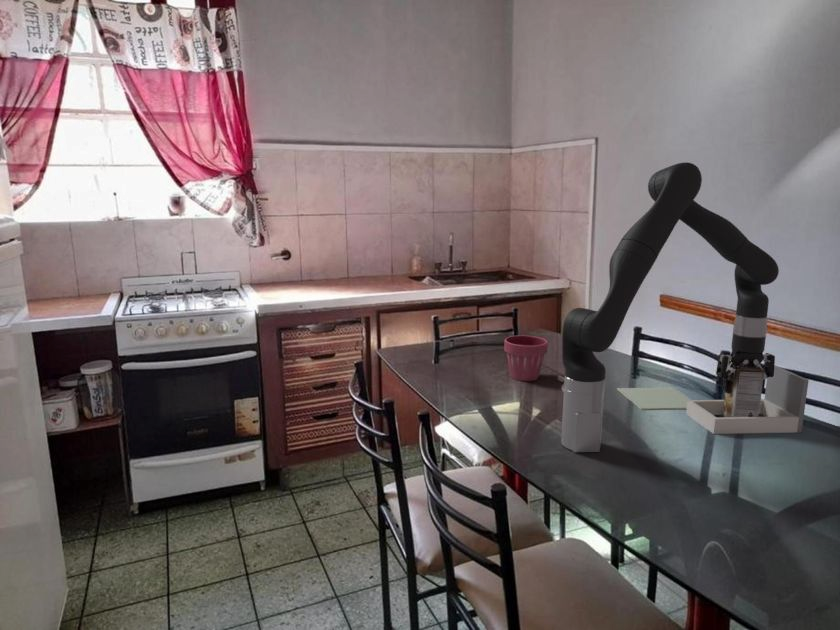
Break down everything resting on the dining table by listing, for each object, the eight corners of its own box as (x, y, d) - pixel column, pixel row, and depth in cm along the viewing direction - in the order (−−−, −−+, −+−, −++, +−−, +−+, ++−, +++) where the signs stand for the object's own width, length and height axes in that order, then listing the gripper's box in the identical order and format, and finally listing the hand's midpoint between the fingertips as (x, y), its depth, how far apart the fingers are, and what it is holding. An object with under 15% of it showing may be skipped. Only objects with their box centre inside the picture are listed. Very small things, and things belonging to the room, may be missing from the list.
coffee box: (721, 416, 162) (727, 359, 159) (746, 417, 161) (753, 361, 158) (731, 428, 153) (738, 369, 150) (758, 430, 152) (765, 370, 149)
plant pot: (543, 385, 188) (544, 346, 185) (499, 381, 192) (500, 343, 190) (548, 373, 201) (550, 336, 199) (507, 369, 205) (508, 333, 203)
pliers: (567, 390, 179) (548, 376, 194) (566, 395, 180) (548, 380, 194) (597, 388, 181) (576, 374, 196) (597, 393, 181) (576, 379, 196)
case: (801, 432, 151) (808, 379, 148) (713, 433, 150) (719, 381, 147) (766, 412, 165) (772, 364, 162) (686, 414, 163) (690, 365, 161)
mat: (703, 408, 168) (703, 407, 168) (641, 409, 167) (641, 408, 167) (672, 388, 185) (673, 387, 185) (616, 389, 184) (616, 388, 184)
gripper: (731, 336, 148) (724, 397, 152) (785, 335, 149) (778, 396, 152) (714, 329, 156) (708, 388, 159) (766, 329, 157) (759, 387, 160)
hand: (742, 392), depth 156 cm, fingers open, 8 cm apart
